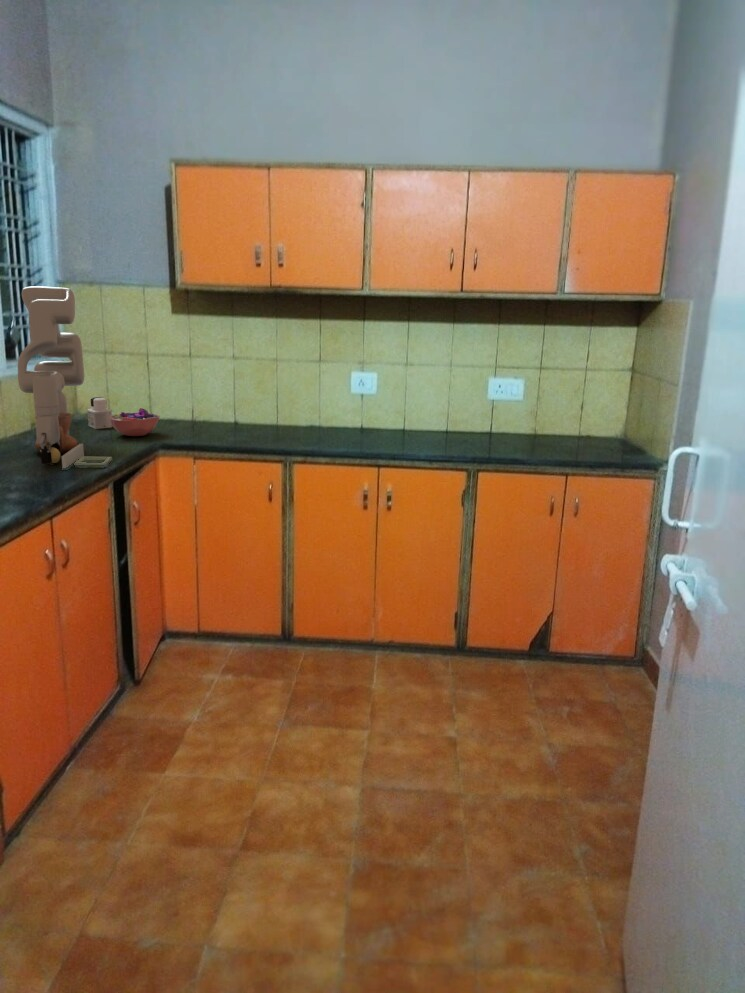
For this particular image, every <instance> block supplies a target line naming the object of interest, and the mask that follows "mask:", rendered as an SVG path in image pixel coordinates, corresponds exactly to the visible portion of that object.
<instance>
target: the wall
mask: <svg viewBox="0 0 745 993" xmlns="http://www.w3.org/2000/svg"><path fill="white" fill-rule="evenodd" d="M84 450H85V449H84V443H79V444H77V446H76V447H74V448H73V449H71V450H70V451H69V452H67V453H63V455H61V466H62V469H63V468H66V467H68V466H69V465H71V464H72V463H74V462H75V461H77V460H78V459H80V458H81V457H83V456H85V453H84V452H85V451H84Z"/></svg>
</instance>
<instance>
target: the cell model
mask: <svg viewBox="0 0 745 993" xmlns="http://www.w3.org/2000/svg"><path fill="white" fill-rule="evenodd" d="M160 417H161V415H158V414H154V413H149V412H148V410H147V409H145V408H142V407H141V408H139V409H138V412H123V411H121V413H119V414H115V415H112V417H110V418H111V423H112V427H113V428H114V429H115V430H116V431H117V432H118V433H119V434H121V435H123V436H127V437H142V436H146V435H148V434H150V433H151V432H153V431H154V429H155V427H156V426H157V425H158V422H159V420H160Z"/></svg>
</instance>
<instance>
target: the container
mask: <svg viewBox="0 0 745 993" xmlns="http://www.w3.org/2000/svg"><path fill="white" fill-rule="evenodd" d="M86 411H87V421H88V422H87V423H88V424H87V425H88V427H90V428H92V429H94V430H99V429H110V428H112V427H113V426H112V423H111V418H110V417H112V416H113V415H112V410H111V409H108V403H107V398H106V397H101V396H99V397H98V396H97V397H92V398H91V399H90V408H87V410H86Z"/></svg>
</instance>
